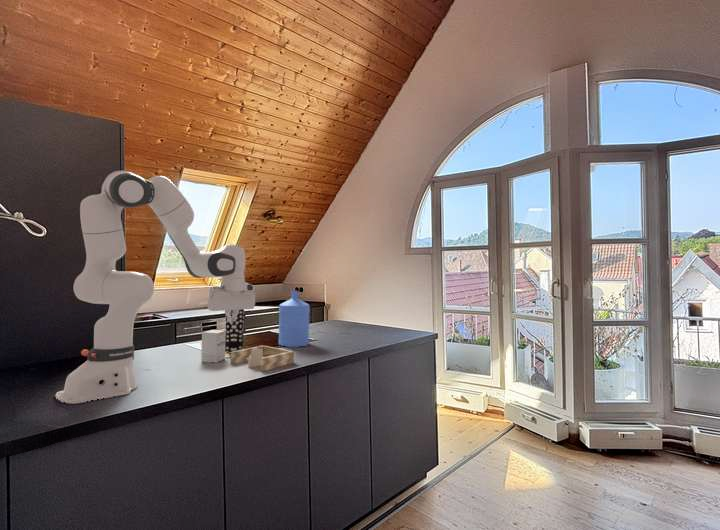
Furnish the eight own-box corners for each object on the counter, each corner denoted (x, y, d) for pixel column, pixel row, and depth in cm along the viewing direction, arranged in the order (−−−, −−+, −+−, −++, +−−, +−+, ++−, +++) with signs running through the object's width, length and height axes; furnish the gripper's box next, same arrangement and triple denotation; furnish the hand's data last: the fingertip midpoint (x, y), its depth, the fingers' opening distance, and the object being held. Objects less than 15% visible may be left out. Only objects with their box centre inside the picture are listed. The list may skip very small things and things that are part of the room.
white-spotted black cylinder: (247, 350, 202) (247, 309, 202) (233, 353, 195) (234, 310, 195) (235, 348, 207) (235, 307, 206) (221, 351, 200) (222, 309, 199)
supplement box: (216, 363, 177) (217, 333, 177) (200, 362, 178) (201, 332, 178) (225, 359, 184) (226, 330, 184) (210, 358, 185) (210, 329, 185)
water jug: (306, 348, 210) (307, 292, 210) (275, 347, 211) (276, 291, 210) (310, 342, 226) (311, 290, 226) (281, 341, 226) (282, 289, 226)
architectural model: (245, 367, 172) (246, 349, 172) (259, 364, 178) (260, 346, 178) (250, 368, 170) (251, 350, 170) (264, 365, 175) (265, 348, 175)
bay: (262, 371, 165) (262, 358, 165) (230, 363, 176) (230, 351, 176) (294, 363, 179) (294, 351, 179) (263, 356, 190) (263, 345, 190)
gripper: (215, 286, 154) (213, 324, 154) (258, 286, 171) (256, 320, 171) (204, 285, 158) (203, 322, 158) (247, 286, 175) (246, 319, 174)
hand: (231, 321), depth 164 cm, fingers closed
